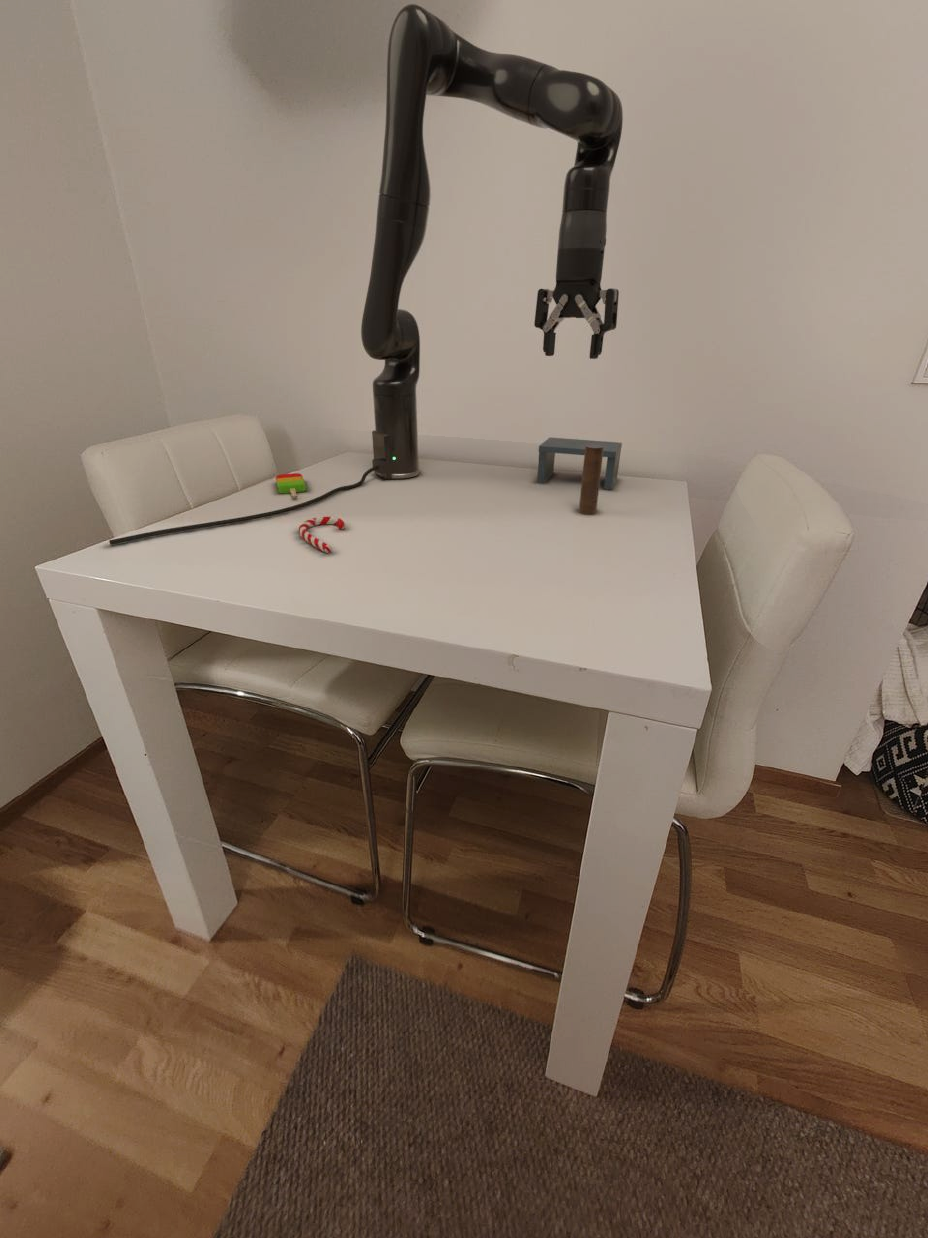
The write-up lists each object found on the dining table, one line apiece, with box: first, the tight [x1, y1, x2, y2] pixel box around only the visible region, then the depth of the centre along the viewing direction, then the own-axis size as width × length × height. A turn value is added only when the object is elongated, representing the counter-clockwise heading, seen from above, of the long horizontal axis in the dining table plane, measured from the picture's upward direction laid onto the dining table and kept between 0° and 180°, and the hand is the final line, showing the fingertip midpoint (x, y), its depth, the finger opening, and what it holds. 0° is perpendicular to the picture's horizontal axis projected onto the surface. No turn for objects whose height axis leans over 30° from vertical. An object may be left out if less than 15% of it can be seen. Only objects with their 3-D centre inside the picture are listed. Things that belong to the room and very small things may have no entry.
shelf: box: [536, 437, 623, 491], centre depth 124 cm, size 10×16×8 cm, turn 69°
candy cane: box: [298, 516, 346, 554], centre depth 93 cm, size 8×1×15 cm
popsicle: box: [275, 472, 307, 498], centre depth 117 cm, size 6×15×2 cm, turn 19°
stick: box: [578, 444, 604, 516], centre depth 103 cm, size 3×3×12 cm
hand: (571, 357), depth 100 cm, fingers open, 8 cm apart
